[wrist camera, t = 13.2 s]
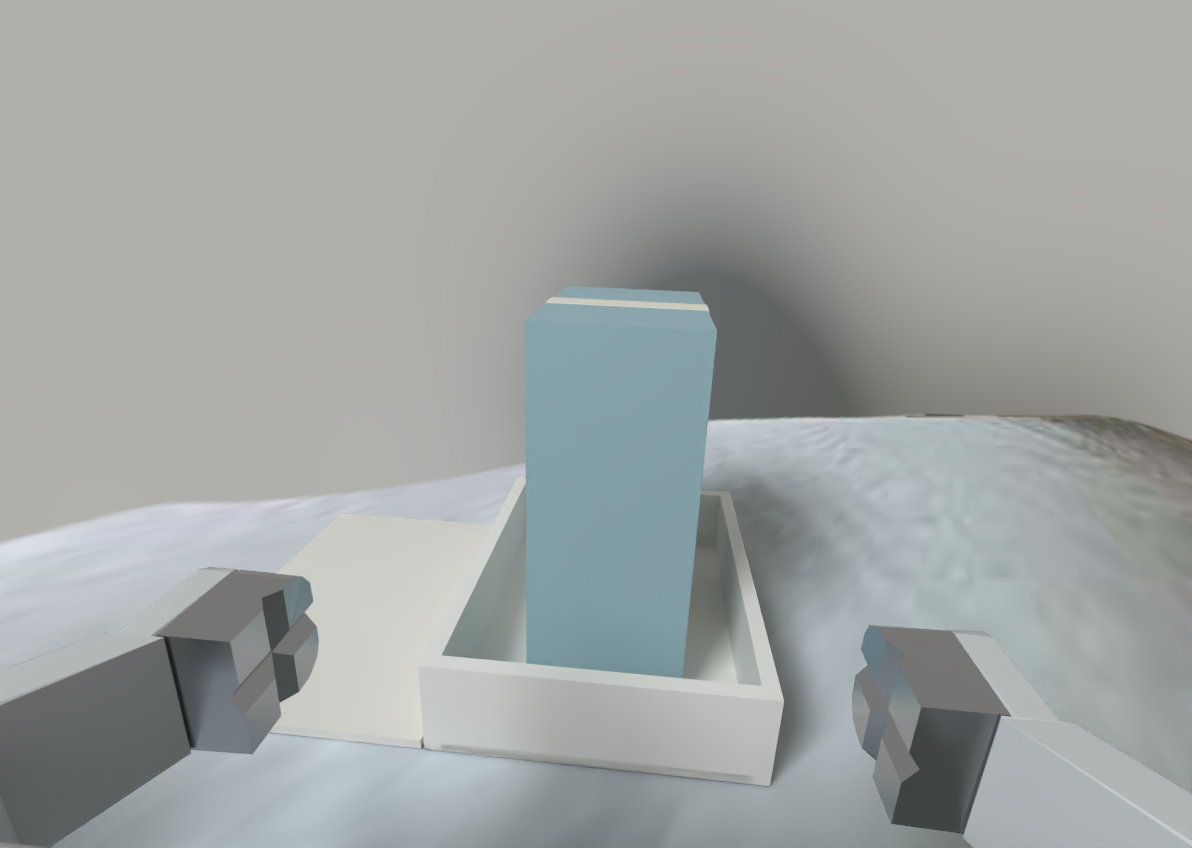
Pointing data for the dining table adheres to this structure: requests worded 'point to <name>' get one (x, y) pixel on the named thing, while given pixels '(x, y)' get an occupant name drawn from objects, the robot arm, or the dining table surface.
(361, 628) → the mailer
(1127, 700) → the dining table surface
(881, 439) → the dining table surface
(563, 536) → the gift box
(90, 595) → the dining table surface
